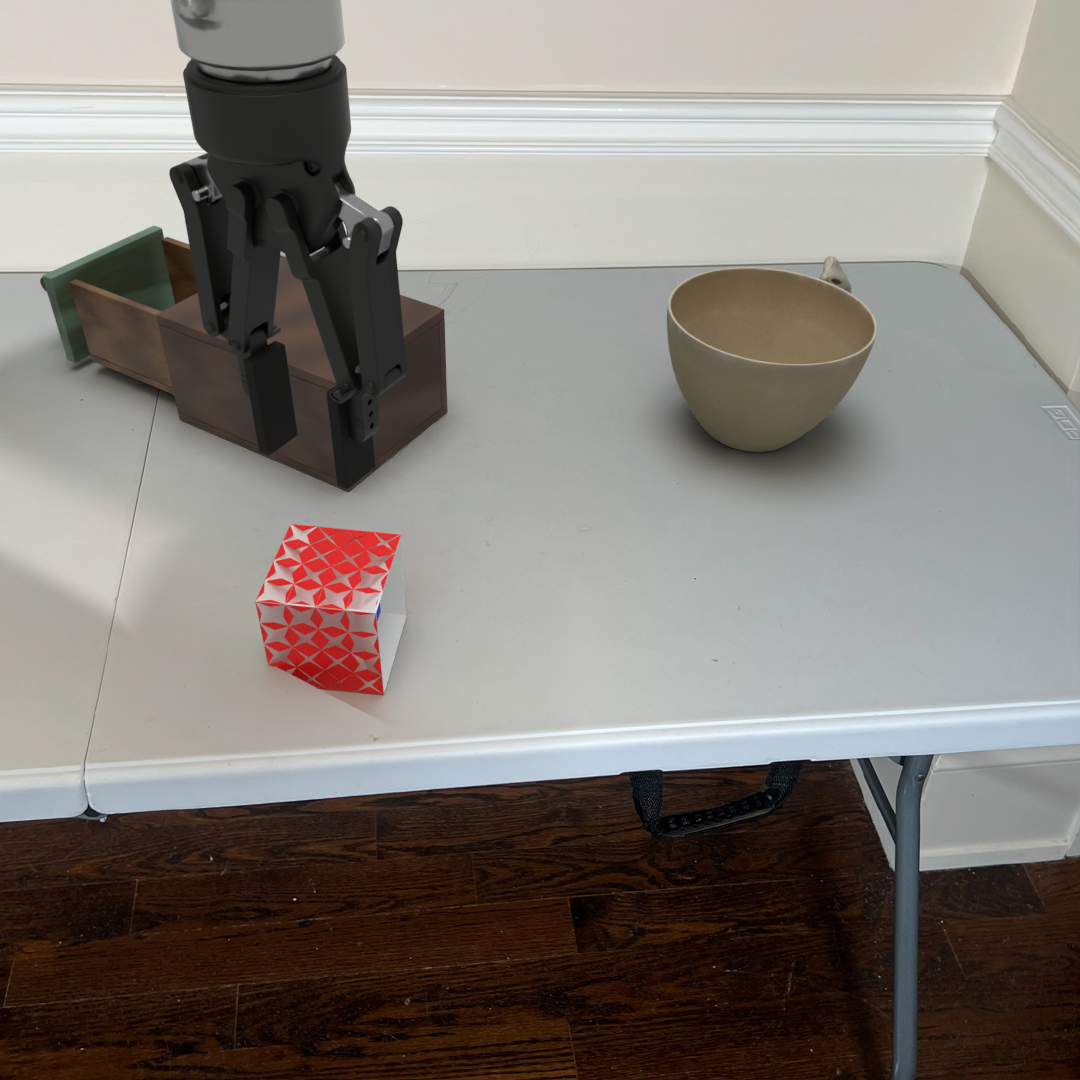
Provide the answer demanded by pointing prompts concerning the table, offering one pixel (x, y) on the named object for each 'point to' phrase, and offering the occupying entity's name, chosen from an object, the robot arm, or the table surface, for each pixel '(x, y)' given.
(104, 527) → the table surface
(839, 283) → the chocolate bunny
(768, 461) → the table surface
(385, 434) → the cabinet
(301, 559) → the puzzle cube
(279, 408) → the robot arm
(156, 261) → the drawer
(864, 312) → the beige bowl
